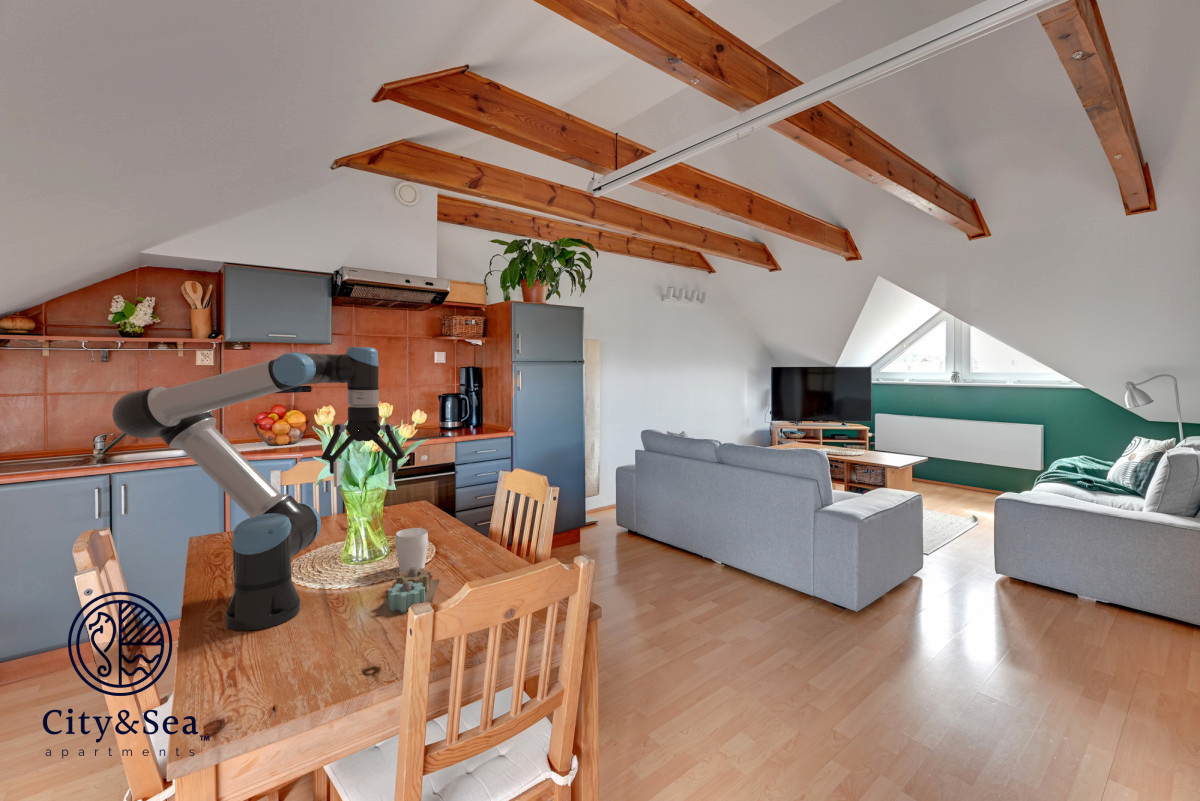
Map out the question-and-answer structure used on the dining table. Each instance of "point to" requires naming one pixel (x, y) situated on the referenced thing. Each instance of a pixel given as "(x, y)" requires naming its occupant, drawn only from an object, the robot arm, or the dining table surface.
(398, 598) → the gear
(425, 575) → the gear
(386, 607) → the gear board
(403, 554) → the cup
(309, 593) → the dining table surface
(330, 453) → the robot arm
